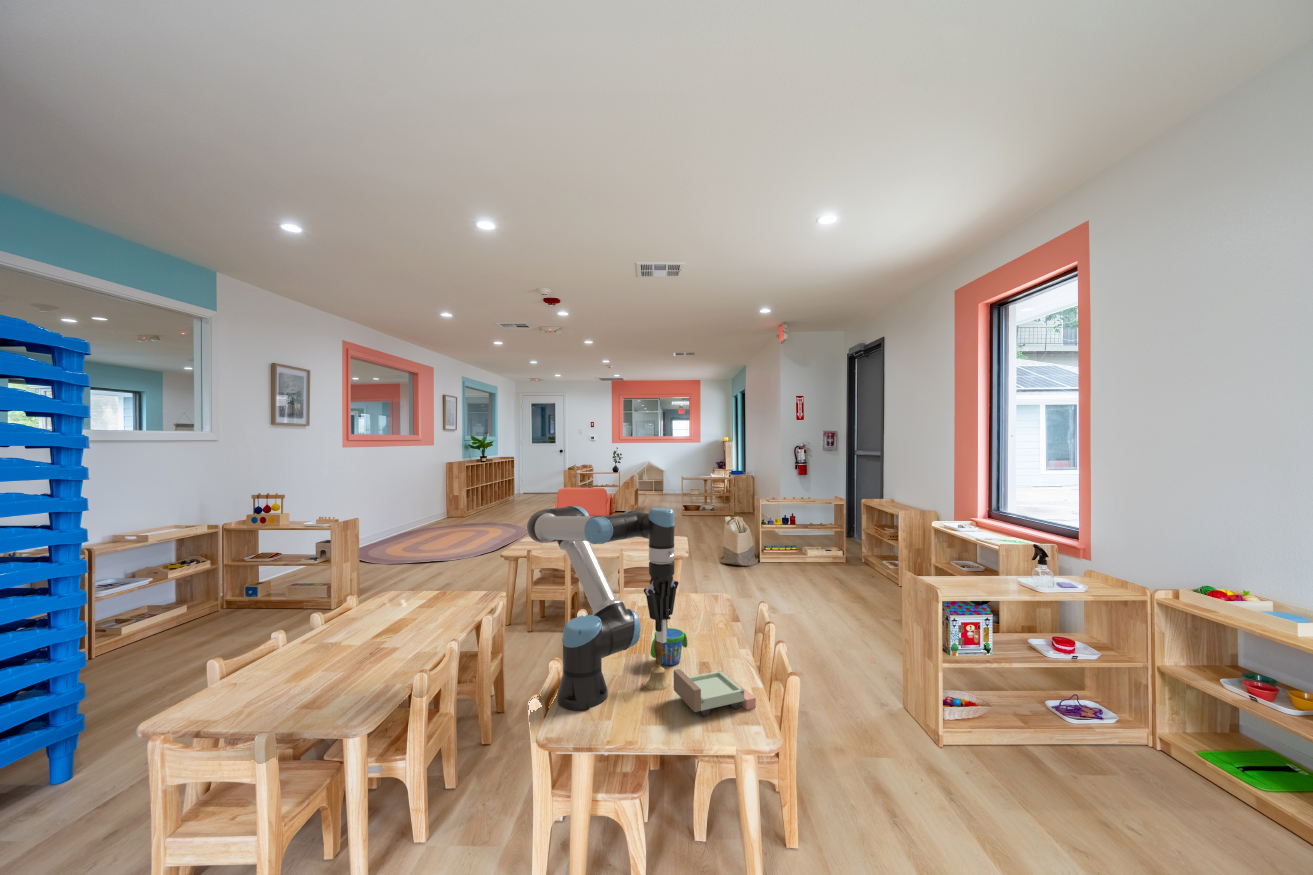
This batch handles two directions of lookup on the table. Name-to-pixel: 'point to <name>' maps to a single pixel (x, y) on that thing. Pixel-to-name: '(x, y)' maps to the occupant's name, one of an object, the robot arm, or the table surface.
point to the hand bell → (658, 672)
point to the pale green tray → (707, 691)
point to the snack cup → (671, 647)
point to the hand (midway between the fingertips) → (661, 641)
